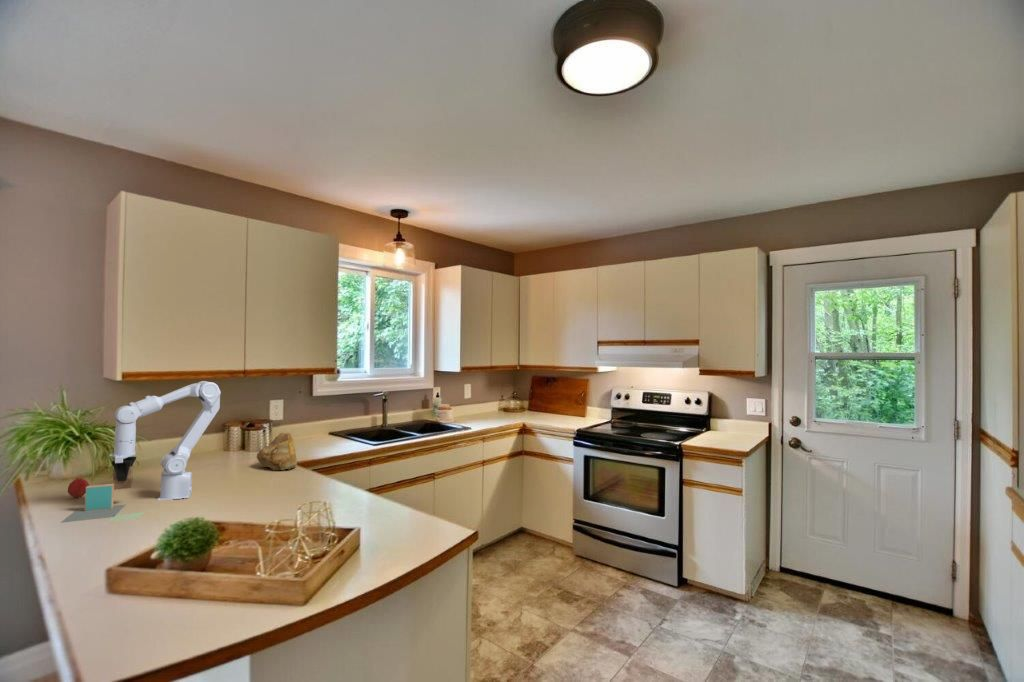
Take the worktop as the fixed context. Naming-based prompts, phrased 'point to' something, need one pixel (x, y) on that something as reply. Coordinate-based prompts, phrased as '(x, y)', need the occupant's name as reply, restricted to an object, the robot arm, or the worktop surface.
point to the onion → (78, 487)
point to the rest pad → (126, 516)
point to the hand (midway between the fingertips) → (123, 479)
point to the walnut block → (123, 484)
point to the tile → (99, 497)
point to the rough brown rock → (279, 453)
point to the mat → (93, 514)
